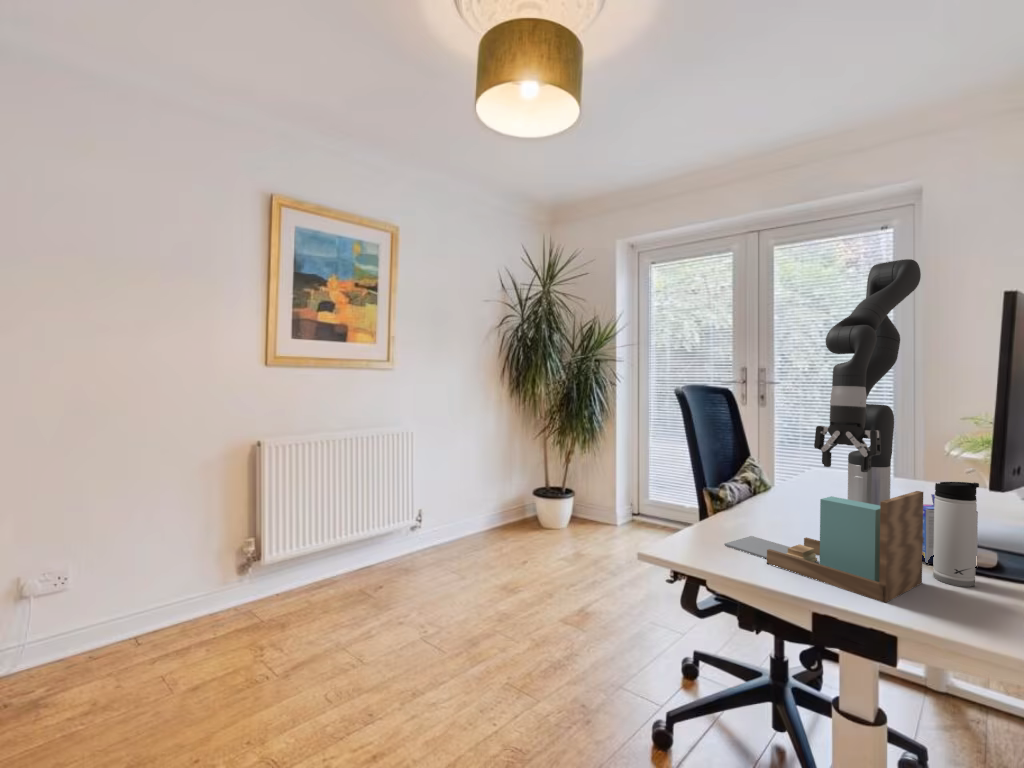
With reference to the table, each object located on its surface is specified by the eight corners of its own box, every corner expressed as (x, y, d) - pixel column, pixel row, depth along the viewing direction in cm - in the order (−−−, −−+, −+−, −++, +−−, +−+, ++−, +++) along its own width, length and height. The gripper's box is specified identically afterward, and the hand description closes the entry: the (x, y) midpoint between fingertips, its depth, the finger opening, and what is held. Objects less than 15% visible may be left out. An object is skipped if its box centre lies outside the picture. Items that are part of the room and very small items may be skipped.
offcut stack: (798, 556, 113) (798, 543, 113) (817, 562, 110) (817, 548, 110) (784, 562, 110) (784, 548, 110) (802, 568, 107) (803, 554, 106)
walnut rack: (806, 550, 117) (807, 473, 116) (921, 583, 98) (923, 491, 98) (766, 563, 108) (767, 480, 108) (885, 602, 89) (886, 502, 89)
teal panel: (830, 566, 107) (831, 496, 107) (885, 582, 98) (886, 506, 98) (819, 570, 104) (820, 499, 104) (874, 587, 96) (875, 510, 96)
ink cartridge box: (961, 559, 111) (963, 494, 111) (979, 569, 106) (980, 500, 105) (911, 556, 113) (912, 492, 113) (926, 565, 108) (927, 498, 107)
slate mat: (751, 537, 125) (751, 535, 125) (800, 552, 115) (800, 550, 115) (724, 545, 120) (724, 543, 120) (773, 561, 109) (773, 559, 109)
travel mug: (968, 590, 95) (970, 485, 95) (926, 578, 101) (928, 478, 100) (983, 584, 98) (985, 482, 97) (942, 572, 104) (943, 476, 103)
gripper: (887, 406, 122) (884, 473, 122) (825, 404, 134) (823, 464, 134) (873, 405, 118) (870, 474, 118) (810, 403, 130) (808, 465, 130)
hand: (845, 469), depth 126 cm, fingers open, 8 cm apart
